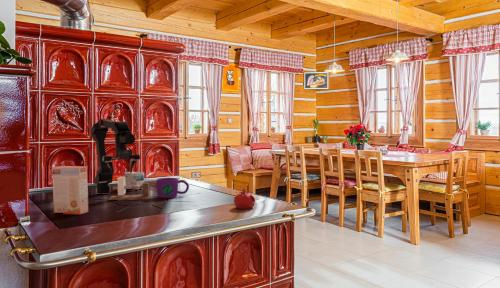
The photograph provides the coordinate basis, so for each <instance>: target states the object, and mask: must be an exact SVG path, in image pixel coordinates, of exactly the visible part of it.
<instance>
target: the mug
mask: <svg viewBox="0 0 500 288" xmlns="http://www.w3.org/2000/svg"><path fill="white" fill-rule="evenodd" d="M181 183H184V185H185V186H186V187H185V190H183V191H180V190H179V184H181ZM189 189H190V185H189V183H188V182H187V181H186V180H185V179H180V180H179V179H178V178H176V177H162V178H161V177H160V178H158V179H156V194H157V197H158V198H159V199H166V200H168V199H175V198H176V197H177V196H178V194H179V195H185V194H187V193H188V191H189Z"/></svg>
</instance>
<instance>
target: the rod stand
mask: <svg viewBox="0 0 500 288" xmlns="http://www.w3.org/2000/svg"><path fill="white" fill-rule="evenodd" d="M138 188H142V190H141V191H142V194H124V195H111V196H110V197H109V198H108V201H109V200H118V201H134V200H149V199H150V196H151V195H150V182H148V181H146V182H145V181H144V183H143V184H142V185H138V186H135V185H132V186H124V189H138ZM112 190H118V185H117V186H116V185H115V186H114V185H113V186H112Z"/></svg>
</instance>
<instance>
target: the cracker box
mask: <svg viewBox="0 0 500 288" xmlns="http://www.w3.org/2000/svg"><path fill="white" fill-rule="evenodd" d="M51 169H52V170H51V171H52V188H53V189H52V199H53V203H52V204H53V214H54V213H63V214H62V215H82V214H86V213H89V190H88V188H89V187H88V166H86V165H85V166H83V165H82V166H80V165H79V166H78V165H77V166H76V165H65V166H64V165H62V166H61V165H60V166H53V167H52V168H51Z"/></svg>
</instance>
